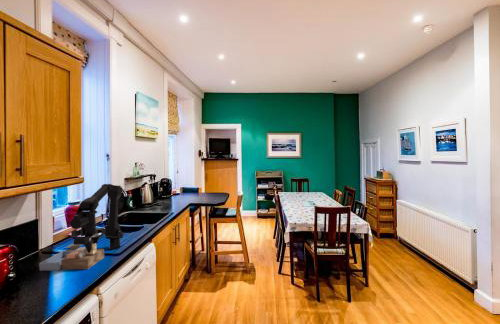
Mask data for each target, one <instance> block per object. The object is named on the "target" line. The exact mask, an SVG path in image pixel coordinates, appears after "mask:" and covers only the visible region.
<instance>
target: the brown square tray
mask: <svg viewBox="0 0 500 324" xmlns="http://www.w3.org/2000/svg"><path fill="white" fill-rule="evenodd" d="M103 259H105V249H104V248H97V252H96V253H95V254H90V255H85V256H83V257H81V258H79V256H78V257H77V258H75V259H67V257H66V258H64V259H63V260H61V263H62V269H61V270H89V269H91V267H93V266H94V265H96V264H97V263H99V262H100V261H101V260H103Z"/></svg>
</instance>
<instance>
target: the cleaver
mask: <svg viewBox="0 0 500 324" xmlns="http://www.w3.org/2000/svg"><path fill="white" fill-rule="evenodd" d="M70 244H71V245H70ZM70 244H68V245H69V246H68V245H67V246H68V247H66V246H65V247H66V248H70V249H64V251H75V250H76V249H78V248H80V247H82V246H84V244H81V245H74V244H72V243H70Z"/></svg>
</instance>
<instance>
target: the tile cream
mask: <svg viewBox="0 0 500 324" xmlns="http://www.w3.org/2000/svg"><path fill="white" fill-rule="evenodd" d="M85 248H86V247H85V246H80V247H79V248H78V249H76V250H74V251H82V250H84V249H85Z"/></svg>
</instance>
